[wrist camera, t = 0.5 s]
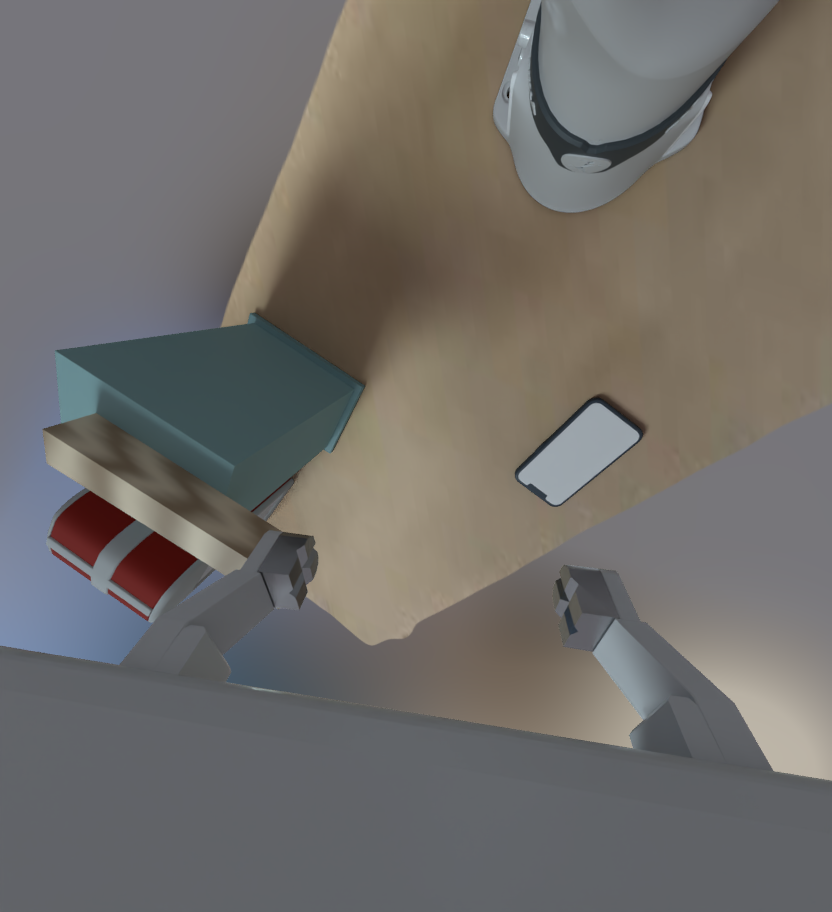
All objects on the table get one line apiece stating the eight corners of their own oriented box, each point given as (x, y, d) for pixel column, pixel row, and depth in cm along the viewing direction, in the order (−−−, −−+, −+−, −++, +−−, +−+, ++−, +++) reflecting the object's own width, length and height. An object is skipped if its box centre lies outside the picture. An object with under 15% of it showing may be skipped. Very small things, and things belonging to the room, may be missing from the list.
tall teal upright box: (235, 387, 57) (56, 452, 35) (254, 312, 50) (43, 333, 27) (332, 451, 58) (217, 554, 35) (365, 385, 50) (246, 464, 28)
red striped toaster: (221, 420, 61) (42, 501, 38) (296, 480, 63) (169, 593, 40) (197, 472, 69) (38, 565, 46) (263, 524, 71) (143, 639, 48)
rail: (96, 444, 32) (46, 463, 29) (96, 412, 30) (42, 429, 27) (303, 575, 33) (278, 609, 30) (316, 553, 31) (291, 586, 28)
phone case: (592, 391, 43) (510, 472, 51) (595, 394, 42) (510, 477, 50) (644, 431, 44) (555, 505, 52) (649, 435, 42) (556, 510, 50)
